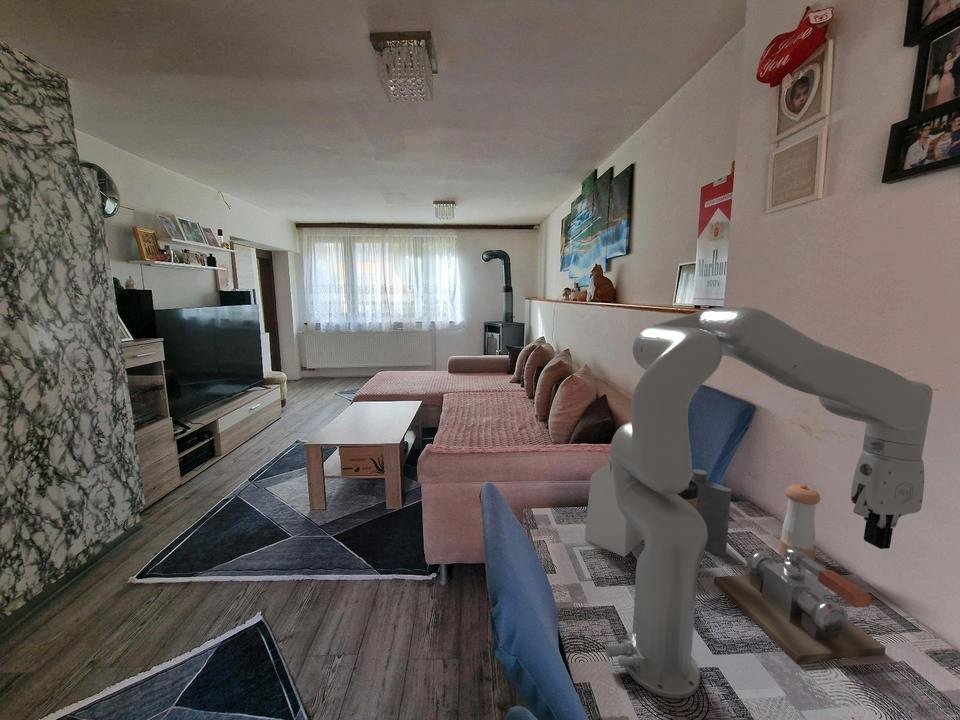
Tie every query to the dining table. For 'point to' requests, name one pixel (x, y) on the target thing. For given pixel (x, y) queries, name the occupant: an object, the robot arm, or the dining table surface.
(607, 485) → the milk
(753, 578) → the valve body
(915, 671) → the dining table surface
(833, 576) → the lever
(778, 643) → the walnut board
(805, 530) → the salt shaker
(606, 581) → the dining table surface
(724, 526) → the hip flask
